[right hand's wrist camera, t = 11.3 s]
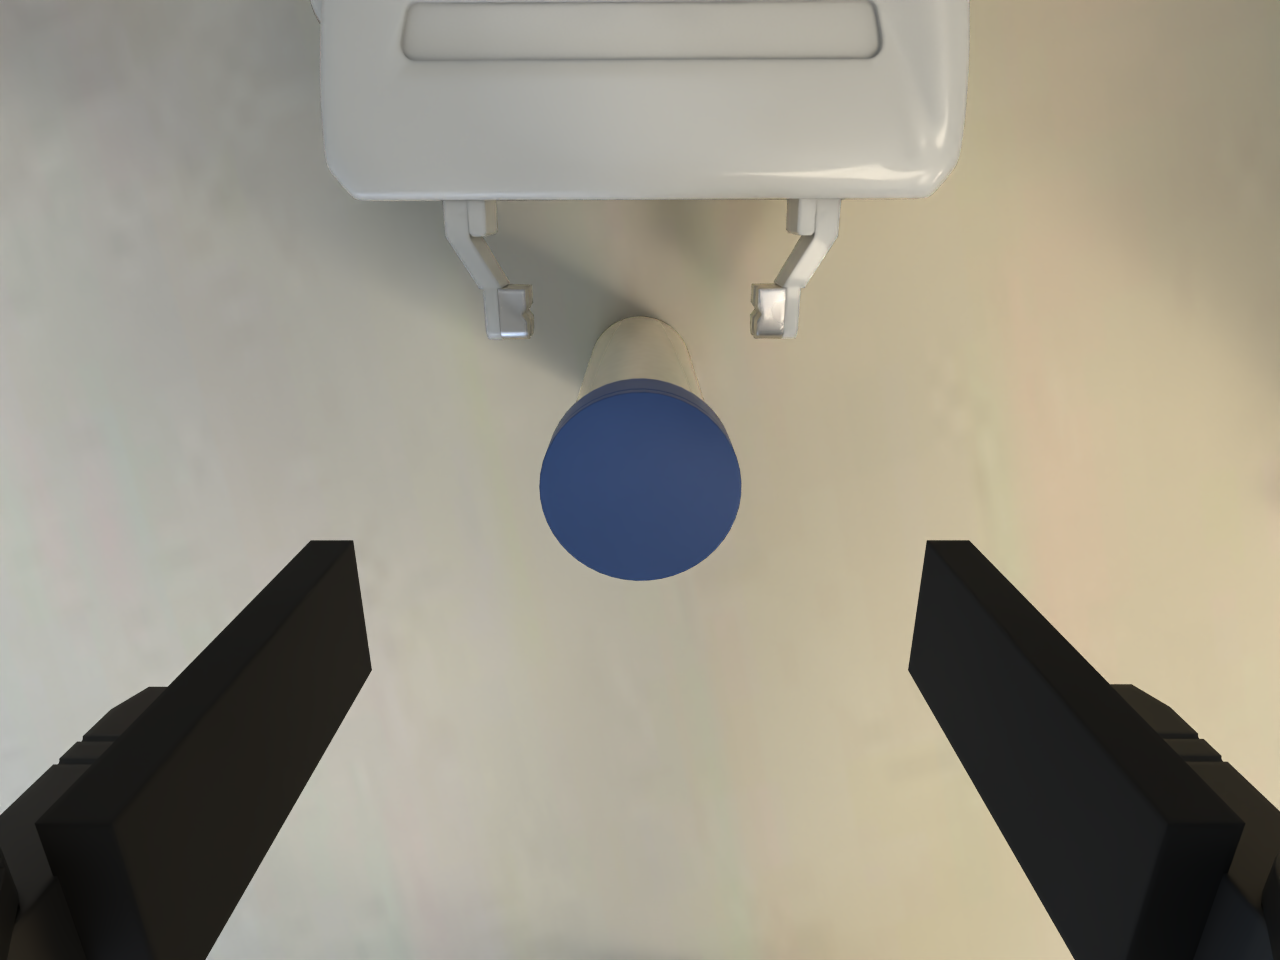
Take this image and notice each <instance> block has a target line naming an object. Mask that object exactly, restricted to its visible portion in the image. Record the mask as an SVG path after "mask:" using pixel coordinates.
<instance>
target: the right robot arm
mask: <svg viewBox="0 0 1280 960" xmlns="http://www.w3.org/2000/svg"><path fill="white" fill-rule="evenodd" d="M371 671H372V668H371V661H370V654H369V647H368V640H367V633H366V626H365V620H364V613H363V606H362V599H361V592H360V585H359V578H358V571H357V564H356V557H355V550H354V543H353V540H311V541H310V542H309V543H308V544H307V545H306V546H305V547H304V548H303V549H302V550H301V551H300V552H299V553H298V554H297V555H296V556H295V557H294V558H293V559H292V560H291V561H290V562H289V563H288V564H287V565H286V566H285V567H284V568H283V569H282V571H281V572H280V573H279V574H278V575H277V576H276V577H275V578H274V579H273V580H272V581H271V582H270V583H269V584H268V585H267V586H266V587H265V588H264V589H263V590H262V591H261V592H260V593H259V594H258V595H257V596H256V597H255V598H254V599H253V600H252V601H251V602H250V603H249V604H248V605H247V606H246V607H245V608H244V609H243V610H242V611H241V612H240V613H239V615H238V616H237V617H236V618H235V619H234V620H233V621H232V622H231V623H230V624H229V625H228V626H227V627H226V628H225V629H224V630H223V631H222V632H221V633H220V634H219V635H218V636H217V637H216V638H215V639H214V640H213V641H212V642H211V643H210V644H209V645H208V646H207V647H206V648H205V649H204V650H203V651H202V652H201V653H200V654H199V655H198V656H197V657H196V659H195V660H194V661H193V662H192V663H191V664H190V665H189V666H188V667H187V668H186V669H185V670H184V671H183V672H182V673H181V674H180V675H179V676H178V677H177V678H176V679H175V680H174V681H173V682H172V683H171V684H170V685H169V686H168V687H148V688H146V689H145V690H143V691H141V692H140V693H138V694H136V695H135V696H133V697H131V698H129V699H128V700H126V701H124V702H123V703H121V704H119V705H118V706H116V707H114V708H113V709H111V710H110V711H109V712H108V713H107V714H106V715H105V716H104V717H103V718H102V719H100V720H99V721H98V722H97V723H96V724H95V725H94V726H93V727H92V728H91V729H90V730H89V731H88V732H87V733H86V734H85V735H84V736H83V740H82V742H76V743H75V744H74V745H73V746H72V747H71V748H70V749H69V750H68V751H67V752H66V753H65V754H64V755H63V756H62V757H61V758H60V759H59V760H60V761H59V764H58V765H52V766H51V767H50V768H49V769H48V770H47V771H46V772H45V773H44V774H43V775H42V776H41V777H40V778H39V779H38V780H37V781H36V782H35V783H34V784H32V785H31V786H30V787H29V788H28V789H27V790H26V791H25V792H24V793H23V794H22V795H21V796H20V797H19V798H18V799H17V800H16V801H15V802H14V803H13V804H12V805H11V806H9V807H8V808H7V809H6V810H5V811H4V812H3V813H2V814H1V815H0V960H205V959H206V958H207V956H208V954H209V952H210V951H211V949H212V947H213V945H214V944H215V942H216V940H217V938H218V937H219V935H220V933H221V932H222V930H223V928H224V926H225V925H226V923H227V921H228V919H229V918H230V916H231V914H232V912H233V911H234V909H235V907H236V905H237V904H238V902H239V900H240V898H241V897H242V895H243V893H244V892H245V890H246V888H247V886H248V885H249V883H250V881H251V879H252V878H253V876H254V874H255V872H256V871H257V869H258V867H259V865H260V864H261V862H262V860H263V858H264V857H265V855H266V853H267V852H268V850H269V848H270V846H271V845H272V843H273V841H274V839H275V838H276V836H277V834H278V832H279V831H280V829H281V827H282V825H283V824H284V822H285V820H286V818H287V817H288V815H289V813H290V812H291V810H292V808H293V806H294V805H295V803H296V801H297V799H298V798H299V796H300V794H301V792H302V791H303V789H304V787H305V785H306V784H307V782H308V780H309V778H310V777H311V775H312V773H313V772H314V770H315V768H316V766H317V765H318V763H319V761H320V759H321V758H322V756H323V754H324V752H325V751H326V749H327V747H328V745H329V744H330V742H331V740H332V738H333V737H334V735H335V733H336V732H337V730H338V728H339V726H340V725H341V723H342V721H343V719H344V718H345V716H346V714H347V712H348V711H349V709H350V707H351V705H352V704H353V702H354V700H355V698H356V697H357V695H358V693H359V692H360V690H361V688H362V686H363V685H364V683H365V681H366V679H367V678H368V676H369V674H370V672H371ZM908 671H909V672H910V674H911V676H912V678H913V679H914V681H915V683H916V685H917V686H918V688H919V690H920V692H921V693H922V695H923V697H924V698H925V700H926V702H927V704H928V705H929V707H930V709H931V711H932V712H933V714H934V716H935V718H936V719H937V721H938V723H939V725H940V726H941V728H942V730H943V732H944V733H945V735H946V737H947V738H948V740H949V742H950V744H951V745H952V747H953V749H954V751H955V752H956V754H957V756H958V758H959V759H960V761H961V763H962V765H963V766H964V768H965V770H966V772H967V773H968V775H969V777H970V778H971V780H972V782H973V784H974V785H975V787H976V789H977V791H978V792H979V794H980V796H981V798H982V799H983V801H984V803H985V805H986V806H987V808H988V810H989V812H990V813H991V815H992V817H993V818H994V820H995V822H996V824H997V825H998V827H999V829H1000V831H1001V832H1002V834H1003V836H1004V838H1005V839H1006V841H1007V843H1008V845H1009V846H1010V848H1011V850H1012V852H1013V853H1014V855H1015V857H1016V858H1017V860H1018V862H1019V864H1020V865H1021V867H1022V869H1023V871H1024V872H1025V874H1026V876H1027V878H1028V879H1029V881H1030V883H1031V885H1032V886H1033V888H1034V890H1035V892H1036V893H1037V895H1038V897H1039V898H1040V900H1041V902H1042V904H1043V905H1044V907H1045V909H1046V911H1047V912H1048V914H1049V916H1050V918H1051V919H1052V921H1053V923H1054V925H1055V926H1056V928H1057V930H1058V932H1059V933H1060V935H1061V937H1062V938H1063V940H1064V942H1065V944H1066V945H1067V947H1068V949H1069V951H1070V952H1071V954H1072V956H1073V958H1074V959H1075V960H1280V811H1279V810H1278V809H1277V808H1276V807H1275V806H1274V805H1272V804H1271V803H1270V802H1269V801H1268V800H1267V799H1266V798H1265V797H1264V796H1263V795H1262V794H1261V793H1260V792H1259V791H1258V790H1257V789H1256V788H1255V787H1254V786H1252V785H1251V784H1250V783H1249V782H1248V781H1247V780H1246V779H1245V778H1244V777H1243V776H1242V775H1241V774H1240V773H1239V772H1238V771H1237V770H1236V769H1235V768H1234V767H1232V766H1231V765H1230V764H1229V763H1228V762H1223V761H1222V759H1221V755H1220V754H1219V753H1218V752H1217V751H1216V750H1215V749H1214V748H1212V747H1211V746H1210V745H1209V744H1208V743H1207V742H1206V741H1205V740H1204V739H1199V738H1198V733H1197V732H1196V731H1195V730H1194V729H1192V728H1191V727H1190V726H1189V725H1188V724H1187V723H1186V722H1185V721H1184V720H1183V719H1182V718H1181V717H1180V716H1179V715H1178V714H1177V713H1176V712H1175V711H1174V710H1172V709H1171V708H1170V707H1169V706H1167V705H1166V704H1164V703H1162V702H1160V701H1159V700H1157V699H1155V698H1154V697H1152V696H1150V695H1149V694H1147V693H1145V692H1144V691H1142V690H1140V689H1138V688H1137V687H1135V686H1133V685H1132V684H1109V683H1108V682H1107V681H1106V680H1105V679H1104V678H1103V677H1102V676H1101V675H1100V674H1099V673H1098V672H1097V671H1096V670H1095V669H1094V668H1093V667H1092V666H1091V665H1090V664H1089V663H1088V662H1087V661H1086V660H1085V659H1084V657H1083V656H1082V655H1081V654H1080V653H1079V652H1078V651H1077V650H1076V649H1075V648H1074V647H1073V646H1072V645H1071V644H1070V643H1069V642H1068V641H1067V640H1066V639H1065V638H1064V637H1063V636H1062V635H1061V634H1060V633H1059V632H1058V631H1057V630H1056V629H1055V628H1054V627H1053V626H1052V625H1051V624H1050V623H1049V622H1048V621H1047V620H1046V619H1045V618H1044V617H1043V616H1042V615H1041V613H1040V612H1039V611H1038V610H1037V609H1036V608H1035V607H1034V606H1033V605H1032V604H1031V603H1030V602H1029V601H1028V600H1027V599H1026V598H1025V597H1024V596H1023V595H1022V594H1021V593H1020V592H1019V591H1018V590H1017V589H1016V588H1015V587H1014V586H1013V585H1012V584H1011V583H1010V582H1009V581H1008V580H1007V579H1006V578H1005V577H1004V576H1003V575H1002V574H1001V573H1000V572H999V571H998V569H997V568H996V567H995V566H994V565H993V564H992V563H991V562H990V561H989V560H988V559H987V558H986V557H985V556H984V555H983V554H982V553H981V552H980V551H979V550H978V549H977V548H976V547H975V546H974V545H973V544H972V543H971V542H970V541H969V540H927V543H926V550H925V557H924V564H923V571H922V578H921V585H920V592H919V599H918V606H917V613H916V620H915V627H914V633H913V640H912V647H911V654H910V661H909V668H908Z"/></svg>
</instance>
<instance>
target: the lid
mask: <svg viewBox="0 0 1280 960" xmlns="http://www.w3.org/2000/svg"><path fill="white" fill-rule="evenodd" d="M539 487H540V499H541V504H542V509H543V512H544V515H545V518H546V521H547V523H548V525H549V527H550V529H551V531H552V533H553V534H554V536H555V537H556V538H557V540H558V541H559V543H560V544H561V545H562V546H563V547H564V548H565V549H566V550H567V551H568V552H569V553H570V554H571V555H572V556H573V557H575V558H576V559H577V560H578V561H580V562H581V563H583V564H584V565H586V566H587V567H589V568H591V569H593V570H595V571H597V572H599V573H602V574H605V575H608V576H611V577H615V578H620V579H625V580H635V581H644V580H655V579H662V578H666V577H670V576H674V575H676V574H679V573H681V572H684V571H686V570H688V569H690V568H692V567H693V566H695V565H697V564H698V563H700V562H701V561H702V560H704V559H705V558H707V557H708V556H709V555H710V554H711V553H712V552H713V551H714V550H715V549H716V548H717V547H718V546H719V545H720V543H721V542H722V541H723V540H724V538H725V537H726V535H727V534H728V532H729V531H730V529H731V527H732V525H733V522H734V520H735V518H736V515H737V512H738V508H739V504H740V498H741V475H740V468H739V464H738V460H737V457H736V454H735V452H734V449H733V446H732V444H731V441H730V439H729V436H728V434H727V432H726V429H725V427H724V426H723V424H722V422H721V421H720V419H719V418H718V416H717V415H716V414H715V413H714V411H713V410H712V409H711V408H710V407H709V406H708V405H707V404H706V403H705V402H704V401H703V400H701V399H700V398H699V397H697V396H696V395H695V394H693V393H691V392H690V391H688V390H686V389H684V388H682V387H680V386H677V385H675V384H672V383H669V382H665V381H661V380H656V379H647V378H635V379H626V380H619V381H616V382H612V383H609V384H606V385H604V386H601V387H599V388H597V389H595V390H593V391H591V392H590V393H588V394H586V395H585V396H583V397H582V398H581V399H580V400H578V401H577V402H576V403H575V404H574V405H573V406H572V407H571V408H570V409H569V410H568V411H567V412H566V413H565V415H564V416H563V418H562V419H561V420H560V422H559V424H558V426H557V427H556V429H555V431H554V433H553V436H552V439H551V441H550V444H549V447H548V449H547V452H546V455H545V457H544V460H543V464H542V468H541V473H540V486H539Z"/></svg>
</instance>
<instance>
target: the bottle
mask: <svg viewBox="0 0 1280 960" xmlns="http://www.w3.org/2000/svg"><path fill="white" fill-rule="evenodd" d="M635 378H647V379H656V380H661V381H665V382H669V383H672V384H675V385H677V386H680V387H682V388H684V389H686V390H688V391H690V392H691V393H693V394H695V395H696V396H697V397H699V398H700V399H701V400H703V401H704V398H703V395H702V392H701V389H700V386H699V383H698V380H697V377H696V374H695V371H694V368H693V365H692V362H691V359H690V356H689V352H688V350H687V347H686V345H685V343H684V341H683V339H682V338H681V337H680V335H679V334H678V333H677V332H676V331H675V330H674V329H673V328H672V327H670V326H669V325H668V324H666V323H664V322H662V321H660V320H658V319H655V318H651V317H644V316H636V317H629V318H626V319H623V320H620V321H618V322H616V323H615V324H613V325H611V326H610V327H609V328H608V329H606V330H605V331H604V332H603V333H602V335H601V336H600V337H599V339H598V340H597V342H596V344H595V346H594V348H593V351H592V354H591V357H590V360H589V363H588V367H587V370H586V373H585V376H584V379H583V382H582V385H581V388H580V391H579V394H578V398H577V401H578V400H580V399H581V398H582V397H583V396H585V395H586V394H588V393H590V392H591V391H593V390H595V389H597V388H599V387H601V386H604V385H606V384H609V383H612V382H616V381H619V380H626V379H635ZM577 401H576V402H577Z"/></svg>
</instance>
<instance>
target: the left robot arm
mask: <svg viewBox="0 0 1280 960" xmlns="http://www.w3.org/2000/svg"><path fill="white" fill-rule="evenodd" d="M310 2H311V5H312V9H313V11H314V14H315V16H316V18H317V20H318V21H319V23H320V98H321V117H322V130H323V143H324V152H325V158H326V163H327V166H328V168H329V170H330V172H331V173H332V175H333V176H334V177H335V178H336V179H337V180H338V182H339V183H340V184H341V185H342V186H343V187H344V188H345V190H346V191H347V192H348V193H349V194H350V195H351V196H352V197H353V198H355V199H357V200H364V201H443V213H444V224H445V235H446V239H447V240H448V242H449V243H450V245H451V246H452V248H453V249H454V251H455V252H456V254H457V255H458V257H459V258H460V260H461V262H462V263H463V265H464V266H465V268H466V269H467V271H468V272H469V274H470V275H471V277H472V278H473V280H474V281H475V283H476V284H477V286H478V288H479V289H483V295H484V309H485V322H486V332H487V336H488V339H497V340H502V339H530V338H531V337H530V336H532V335H533V333H534V315H533V313H532V312H531V311H530V309H529V308H530V307H531V305H532V304H533V292H532V285H529V284H509V283H510V282H509V280H508V279H507V277H506V275H505V274H504V272H503V270H502V269H501V267H500V265H499V264H498V262H497V260H496V259H495V257H494V255H493V254H492V252H491V250H490V249H489V247H488V245H487V244H486V242H485V240H484V239H483V237H482V236H488V235H494V234H495V233H496V232H497V231H498V227H497V209H496V200H697V199H787V220H786V230H787V232H788V233H791V234H796V235H801V237H800V239H799V240H798V242H797V244H796V245H795V247H794V249H793V250H792V252H791V254H790V255H789V257H788V259H787V260H786V262H785V264H784V266H783V267H782V269H781V271H780V272H779V274H778V276H777V277H776V279H775V281H774V283H766V284H752V289H751V303H752V305H753V306H754V308H755V309H754V310H753V311H752V313H751V314H750V332H751V335H754V338H773V339H781V338H787V339H795V338H796V336H797V331H798V323H799V308H800V294H801V288H805V286H806V285H807V283H808V282H809V280H810V279H811V277H812V276H813V274H814V272H815V271H816V269H817V268H818V266H819V265H820V263H821V262H822V260H823V259H824V257H825V256H826V254H827V252H828V251H829V249H830V248H831V246H832V245H833V243H834V242H835V240H836V239H837V237H838V230H839V219H840V208H841V199H920V198H927V197H929V196H931V195H932V194H933V193H934V192H935V191H936V190H937V189H938V188H939V187H940V186H941V184H942V183H943V182H944V181H945V180H946V179H947V177H948V176H949V175H950V174H951V172H952V171H953V170H954V168H955V167H956V165H957V162H958V160H959V156H960V152H961V146H962V140H963V133H964V124H965V115H966V104H967V92H968V75H969V51H970V0H310Z"/></svg>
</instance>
